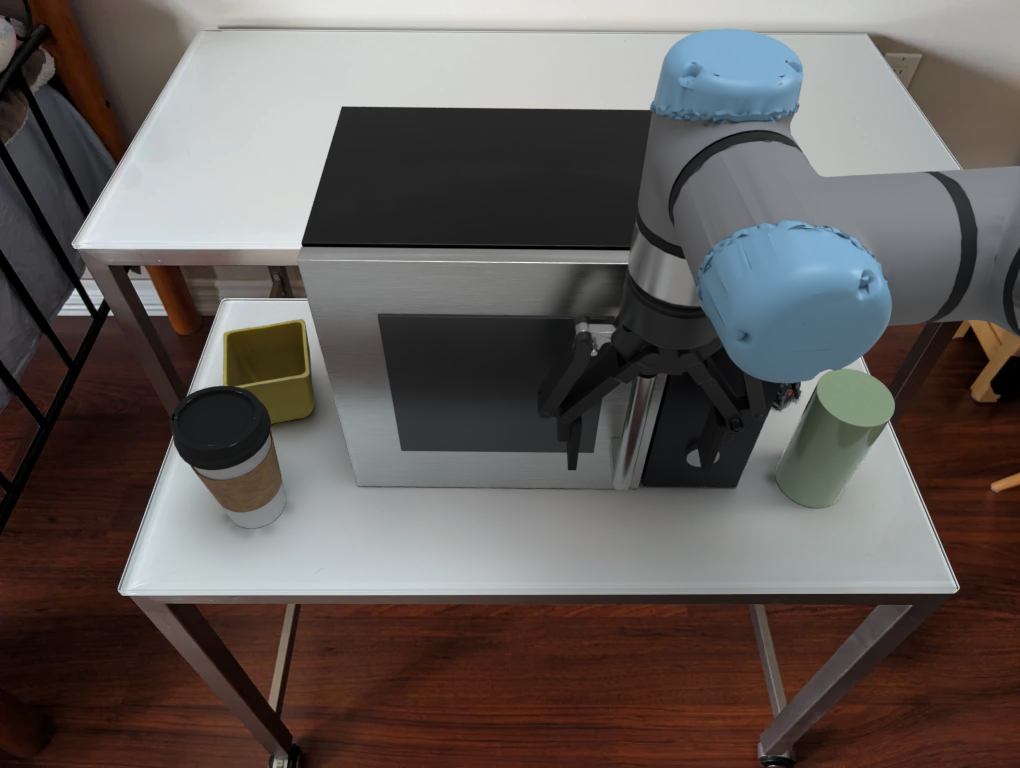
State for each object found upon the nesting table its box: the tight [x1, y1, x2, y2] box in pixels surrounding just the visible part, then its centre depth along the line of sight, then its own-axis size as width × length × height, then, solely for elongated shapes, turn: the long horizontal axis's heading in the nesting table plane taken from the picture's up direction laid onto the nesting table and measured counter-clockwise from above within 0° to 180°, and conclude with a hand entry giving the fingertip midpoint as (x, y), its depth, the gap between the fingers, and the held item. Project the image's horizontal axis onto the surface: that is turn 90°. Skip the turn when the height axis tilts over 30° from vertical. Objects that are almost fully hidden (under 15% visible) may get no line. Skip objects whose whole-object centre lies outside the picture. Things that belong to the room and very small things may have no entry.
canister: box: [774, 368, 896, 509], centre depth 74 cm, size 7×7×14 cm
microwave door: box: [296, 246, 667, 492], centre depth 66 cm, size 6×30×31 cm, turn 90°
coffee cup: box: [169, 385, 287, 529], centre depth 72 cm, size 8×8×15 cm
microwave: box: [300, 105, 782, 489], centre depth 74 cm, size 22×40×31 cm, turn 90°
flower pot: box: [222, 318, 315, 425], centre depth 82 cm, size 9×9×9 cm
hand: (637, 458), depth 67 cm, fingers open, 11 cm apart
